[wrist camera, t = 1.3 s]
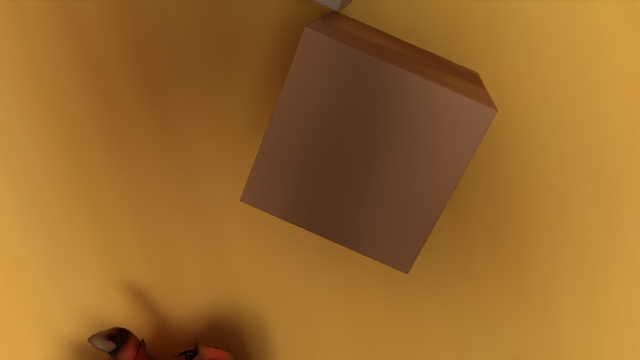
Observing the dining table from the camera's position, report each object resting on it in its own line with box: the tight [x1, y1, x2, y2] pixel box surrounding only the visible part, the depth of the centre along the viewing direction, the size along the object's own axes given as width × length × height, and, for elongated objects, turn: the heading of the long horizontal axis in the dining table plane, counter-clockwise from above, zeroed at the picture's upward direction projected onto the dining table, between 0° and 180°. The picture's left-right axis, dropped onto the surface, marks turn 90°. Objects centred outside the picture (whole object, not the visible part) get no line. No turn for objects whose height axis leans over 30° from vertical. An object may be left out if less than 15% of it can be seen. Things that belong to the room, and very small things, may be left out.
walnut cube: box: [240, 10, 498, 274], centre depth 17 cm, size 5×5×5 cm
